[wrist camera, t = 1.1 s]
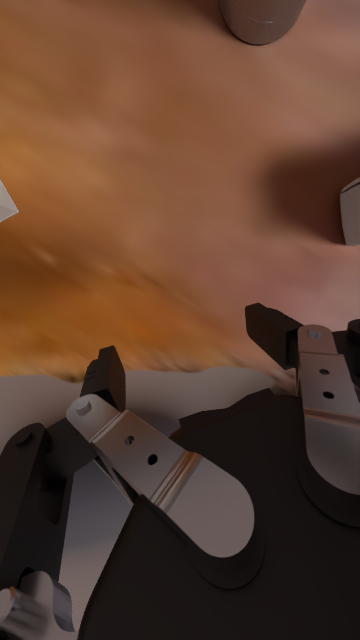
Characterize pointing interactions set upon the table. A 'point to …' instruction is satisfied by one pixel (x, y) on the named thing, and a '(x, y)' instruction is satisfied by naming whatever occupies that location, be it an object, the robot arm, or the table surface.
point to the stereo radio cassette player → (351, 212)
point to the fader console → (6, 204)
